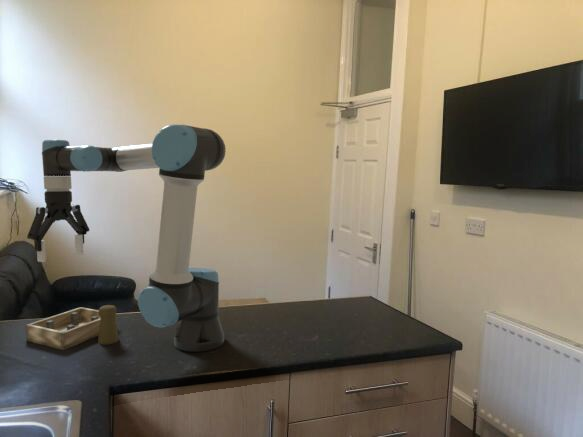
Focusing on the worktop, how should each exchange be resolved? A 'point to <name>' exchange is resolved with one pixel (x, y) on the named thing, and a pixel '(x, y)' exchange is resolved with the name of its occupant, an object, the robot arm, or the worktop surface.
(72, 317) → the socket box
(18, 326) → the worktop surface
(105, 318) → the cork
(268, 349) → the worktop surface
